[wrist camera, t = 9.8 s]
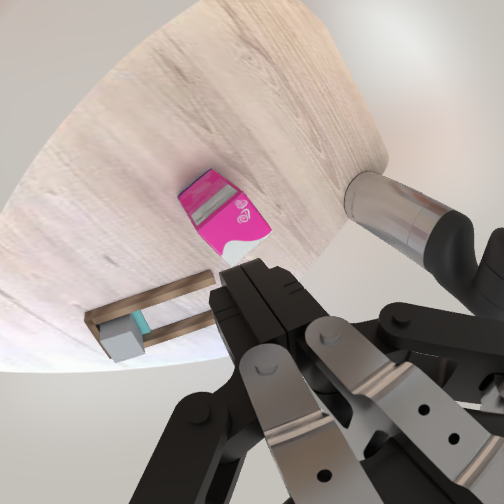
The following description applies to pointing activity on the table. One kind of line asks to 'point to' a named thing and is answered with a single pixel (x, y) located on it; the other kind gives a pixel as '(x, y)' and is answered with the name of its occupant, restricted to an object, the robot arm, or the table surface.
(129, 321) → the block
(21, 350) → the table surface
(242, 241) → the supplement box
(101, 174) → the table surface
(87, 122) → the table surface
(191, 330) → the wooden u-shaped frame
